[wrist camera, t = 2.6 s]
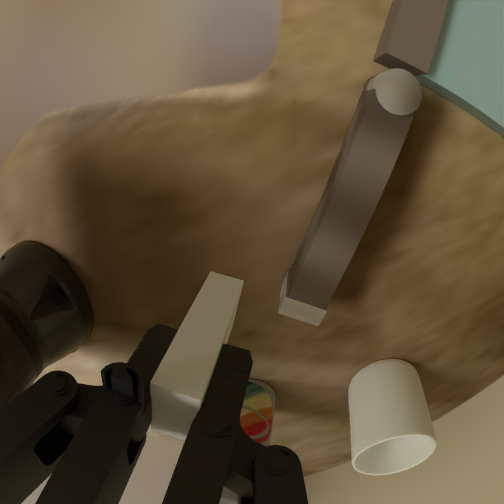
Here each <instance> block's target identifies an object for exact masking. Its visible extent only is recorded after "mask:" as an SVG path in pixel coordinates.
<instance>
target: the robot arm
mask: <svg viewBox="0 0 504 504" xmlns="http://www.w3.org/2000/svg"><path fill="white" fill-rule="evenodd" d="M243 283H244V280H240V279H236V278H233V277H229V276H226V275H222V274H219V273H215V272H212V271H211V272H210V273H209V275H208V277H207V279H206V281H205V282H204V284H203V286H202V288H201V290H200V291H199V293H198V295H197V297H196V299H195V300H194V302H193V304H192V306H191V308H190V310H189V311H188V313H187V315H186V317H185V319H184V321H183V322H182V324H181V326H180V328H179V330H176V329H173V328H170V327H167V326H164V325H161V324H157V325H156V326H154V327H153V328H151V329H149V330H148V331H147V333H146V334H145V336H144V338H143V339H142V342H140V344H139V345H138V347H137V349H136V350H135V352H134V353H133V355H132V356H131V358H130V359H129V361H128V363H123V362H119V363H112V364H109V365H107V366H105V367H104V368H103V369H102V370H101V377H102V382H103V386H92V385H85V384H79V383H77V382H76V380H75V378H74V377H73V376H72V375H71V374H69V373H67V372H65V371H59V370H58V371H51V372H49V373H47V374H45V375H44V376H43V377H41V378H40V379H39V380H38V381H37V382H36V383H34V384H33V382H34V381H35V379H36V378H37V377H38V376H39V374H40V373H41V372H42V371H43V370H44V369H45V368H46V367H48V366H49V365H51V364H53V363H55V362H57V361H58V360H60V359H62V358H64V357H65V356H67V355H68V354H70V353H73V352H75V351H76V350H77V349H79V348H80V347H81V346H82V344H83V343H84V342H85V341H86V339H87V338H88V337H89V335H90V333H91V331H92V327H93V314H92V309H91V305H90V302H89V299H88V297H87V294H86V292H85V290H84V288H83V286H82V284H81V283H80V281H79V280H78V278H77V276H76V275H75V274H74V272H73V271H72V270H71V268H70V267H69V266H68V265H67V264H66V263H65V262H64V260H62V259H61V258H60V257H59V256H58V255H57V254H56V253H55V252H53V251H52V250H51V249H49V248H48V247H46V246H44V245H42V244H40V243H37V242H33V241H23V242H20V243H18V244H16V245H15V246H13V247H12V248H10V249H9V250H7V251H6V252H5V253H4V254H3V255H2V257H1V258H0V504H21V503H22V502H23V501H24V500H25V499H26V498H27V497H28V496H29V495H30V494H31V493H32V492H33V491H34V490H35V489H36V488H37V487H38V486H39V485H40V484H41V483H42V482H43V481H44V480H45V479H46V478H47V477H49V476H50V474H52V475H51V476H50V478H49V480H48V482H47V483H46V485H45V487H44V489H43V491H42V492H41V494H40V496H39V498H38V500H37V502H36V503H35V504H118V503H119V501H120V499H121V496H122V494H123V492H124V489H125V487H126V485H127V483H128V480H129V478H130V476H131V474H132V471H133V469H134V467H135V465H136V462H137V460H138V458H139V456H140V453H141V451H142V449H143V447H144V444H145V441H146V432H147V430H148V428H149V426H150V424H151V429H153V430H156V431H159V432H161V433H164V434H167V435H170V436H173V437H176V438H179V439H182V440H185V443H184V445H183V448H182V451H181V454H180V456H179V459H178V462H177V464H176V467H175V470H174V473H173V475H172V478H171V481H170V484H169V486H168V489H167V492H166V494H165V497H164V500H163V502H162V504H219V503H220V499H221V495H222V491H223V487H226V488H227V489H229V490H231V491H232V492H234V493H236V494H237V496H238V504H308V500H307V494H306V489H305V483H304V478H303V472H302V467H301V462H300V460H299V458H298V456H297V455H296V454H295V453H294V452H293V451H292V450H291V449H289V448H287V447H285V446H280V445H272V446H267V447H266V446H264V445H262V444H260V443H258V442H256V441H255V440H253V439H252V438H250V437H249V436H248V435H247V434H246V433H245V432H244V431H243V429H242V427H241V423H240V414H241V410H242V406H243V402H244V398H245V393H246V389H247V385H248V381H249V376H250V372H251V368H252V363H253V361H252V357H251V354H250V351H249V350H245V349H242V348H238V347H235V346H231V345H228V344H227V342H228V339H229V336H230V333H231V330H232V327H233V323H234V319H235V315H236V311H237V307H238V303H239V299H240V295H241V291H242V287H243ZM32 384H33V385H32Z"/></svg>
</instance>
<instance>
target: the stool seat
mask: <svg viewBox="0 0 504 504" xmlns="http://www.w3.org/2000/svg"><path fill="white" fill-rule="evenodd" d="M373 61H375V62H377V63H379V64H381V65H383V66H386V67H388V68H390V69H394V68H399V69H404V70H406V71H408V72H410V73H411V74H413V75H414V76H415V77H416V79H417V80H418V81H419V83H420V84H421V85H423V86H425V87H427V88H429V89H430V90H432V91H434V92H436V93H437V94H439V95H441V96H442V97H444V98H446V99H448V100H449V101H451V102H452V103H454V104H456V105H457V106H459V107H460V108H462V109H464V110H465V111H467V112H468V113H470V114H471V115H473V116H474V117H476V118H477V119H479V120H480V121H482V122H483V123H484V124H486V125H487V126H489V127H490V128H491V129H493V130H494V131H496V132H497V133H498V134H500V135H501V136H502V137H504V0H393V2H392V5H391V8H390V12H389V15H388V18H387V21H386V24H385V27H384V30H383V33H382V36H381V39H380V42H379V44H378V47H377V50H376V53H375V56H374V59H373Z"/></svg>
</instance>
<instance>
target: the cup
mask: <svg viewBox="0 0 504 504" xmlns="http://www.w3.org/2000/svg"><path fill="white" fill-rule="evenodd" d="M348 401H349V415H350V431H351V452H352V466H353V468H354V469H355V470H356V471H358V472H360V473H363V474H367V475H387V474H393V473H397V472H401V471H404V470H407V469H409V468H412V467H414V466H416V465H418V464H420V463H422V462H423V461H425V460H426V459H427V458H428V457H430V456H431V455H432V453H433V452H434V451H435V449H436V446H437V442H436V438H435V434H434V429H433V425H432V421H431V417H430V413H429V410H428V406H427V402H426V399H425V395H424V392H423V388H422V385H421V381H420V378H419V375H418V373H417V371H416V369H415V368H414V367H413V366H412V365H411V364H410V363H408V362H406V361H403V360H400V359H384V360H379V361H376V362H373V363H371V364H369V365H367V366H365V367H364V368H362V369H361V370H360V371H358V372H357V373H356V374H355V376H354V377H353V378H352V380H351V382H350V384H349V388H348Z"/></svg>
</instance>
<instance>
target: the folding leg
mask: <svg viewBox="0 0 504 504" xmlns="http://www.w3.org/2000/svg"><path fill="white" fill-rule="evenodd" d="M421 101H422V89H421V86H420V83H419V81H418V80H417V79H416V77H415V76H414V75H413V74H411V73H410V72H408V71H406V70H404V69H399V68H394V69H390V70H387V71H385V72H382V73H380V74H377V75H375V76H373V77H371V78H370V79H369V80H368V81H367V82H366V84H365V86H364V91H363V92H362V94H361V97H360V100H359V103H358V105H357V108H356V111H355V113H354V116H353V119H352V121H351V124H350V127H349V129H348V132H347V134H346V137H345V140H344V142H343V145H342V147H341V150H340V153H339V155H338V158H337V160H336V163H335V165H334V168H333V170H332V173H331V175H330V178H329V180H328V183H327V185H326V188H325V190H324V193H323V195H322V198H321V200H320V202H319V205H318V207H317V210H316V212H315V215H314V217H313V219H312V222H311V224H310V227H309V229H308V231H307V234H306V236H305V238H304V241H303V243H302V245H301V248H300V250H299V252H298V255H297V257H296V259H295V262H294V264H293V266H292V269H291V271H290V270H288V272H287V274H286V276H285V278H284V281H283V283H282V287H281V294H280V301H279V309H278V313H279V314H282V315H285V316H288V317H291V318H294V319H297V320H300V321H303V322H307V323H310V324H313V325H316V326H319V325H320V323H321V321H322V320H323V318H324V316H325V314H326V312H327V305H328V303H329V301H330V299H331V297H332V295H333V293H334V292H335V290H336V288H337V286H338V284H339V282H340V280H341V278H342V276H343V274H344V272H345V270H346V269H347V267H348V265H349V263H350V261H351V259H352V257H353V255H354V253H355V251H356V249H357V247H358V245H359V242H360V240H361V238H362V236H363V234H364V232H365V230H366V228H367V226H368V224H369V222H370V219H371V217H372V215H373V213H374V211H375V209H376V206H377V204H378V202H379V200H380V198H381V195H382V193H383V191H384V188H385V186H386V184H387V182H388V179H389V177H390V175H391V172H392V170H393V168H394V165H395V163H396V160H397V158H398V156H399V153H400V151H401V148H402V146H403V143H404V141H405V138H406V136H407V133H408V130H409V128H410V125H411V123H412V120H413V117H414V115H415V112H416V110H417V109H418V107H419V106H420V104H421Z"/></svg>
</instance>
